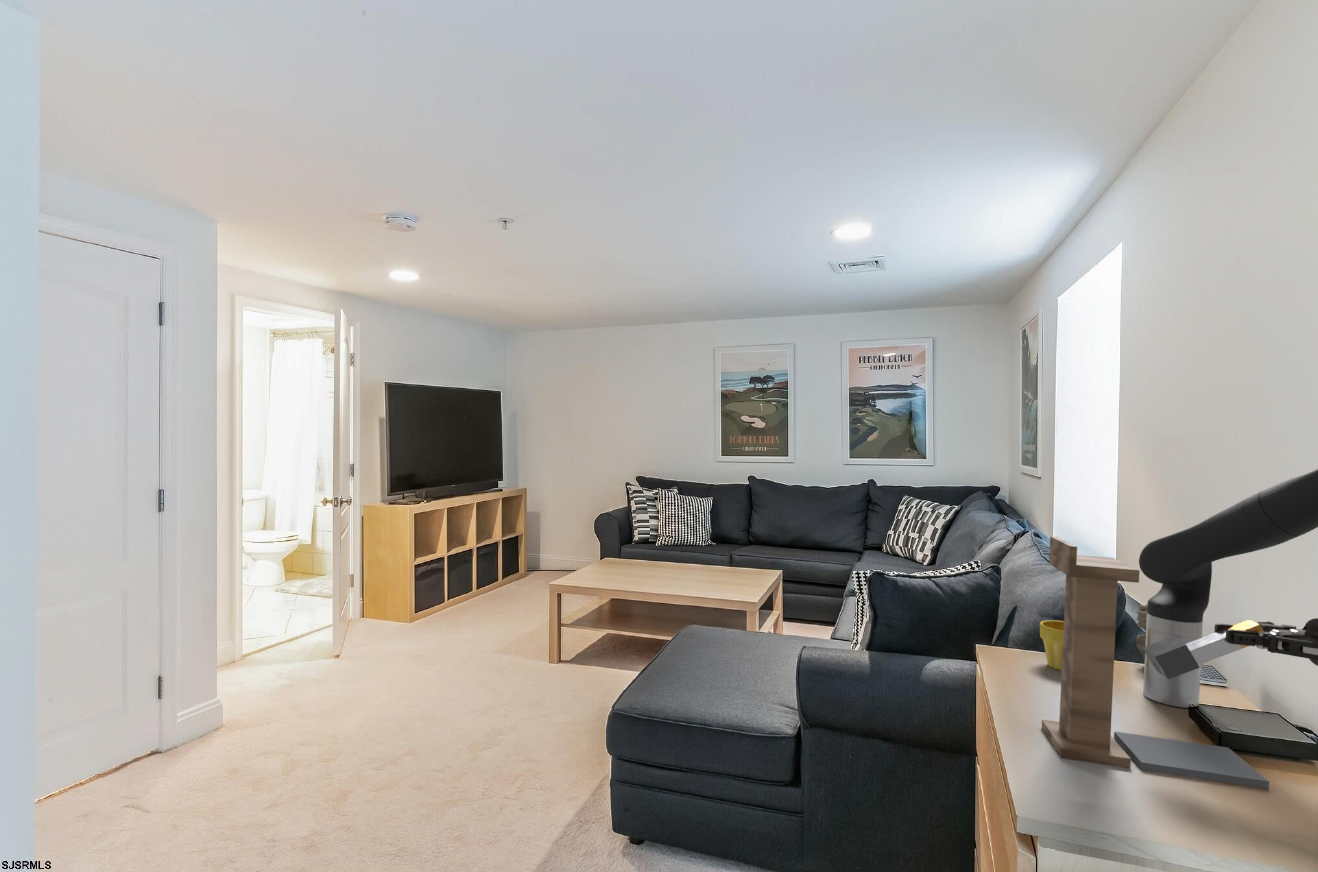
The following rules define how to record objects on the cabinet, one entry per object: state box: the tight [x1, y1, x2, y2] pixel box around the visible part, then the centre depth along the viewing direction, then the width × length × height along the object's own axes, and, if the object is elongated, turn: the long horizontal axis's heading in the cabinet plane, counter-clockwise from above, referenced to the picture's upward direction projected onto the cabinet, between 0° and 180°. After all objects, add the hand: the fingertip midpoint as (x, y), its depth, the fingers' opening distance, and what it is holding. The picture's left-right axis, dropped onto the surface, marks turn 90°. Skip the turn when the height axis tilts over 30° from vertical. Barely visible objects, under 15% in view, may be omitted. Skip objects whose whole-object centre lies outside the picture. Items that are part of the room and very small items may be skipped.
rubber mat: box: [1113, 731, 1270, 790], centre depth 113 cm, size 12×17×1 cm
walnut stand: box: [1041, 535, 1140, 769], centre depth 117 cm, size 12×10×35 cm
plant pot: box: [1039, 619, 1064, 671], centre depth 159 cm, size 10×10×10 cm
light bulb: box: [1136, 604, 1147, 665], centre depth 161 cm, size 6×6×15 cm
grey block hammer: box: [1143, 619, 1264, 679], centre depth 112 cm, size 5×16×4 cm, turn 74°
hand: (1221, 633), depth 112 cm, fingers closed on grey block hammer, 3 cm apart
